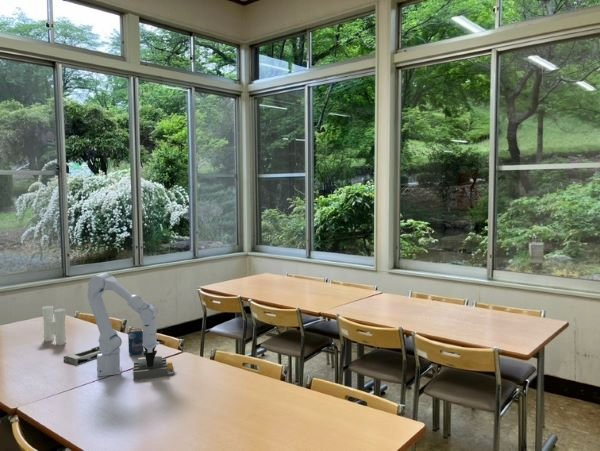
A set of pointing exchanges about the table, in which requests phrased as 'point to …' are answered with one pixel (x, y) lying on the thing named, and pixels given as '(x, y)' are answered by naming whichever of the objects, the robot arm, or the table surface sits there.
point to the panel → (143, 362)
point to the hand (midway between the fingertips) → (150, 363)
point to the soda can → (135, 342)
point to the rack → (153, 370)
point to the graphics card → (83, 356)
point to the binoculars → (54, 324)
